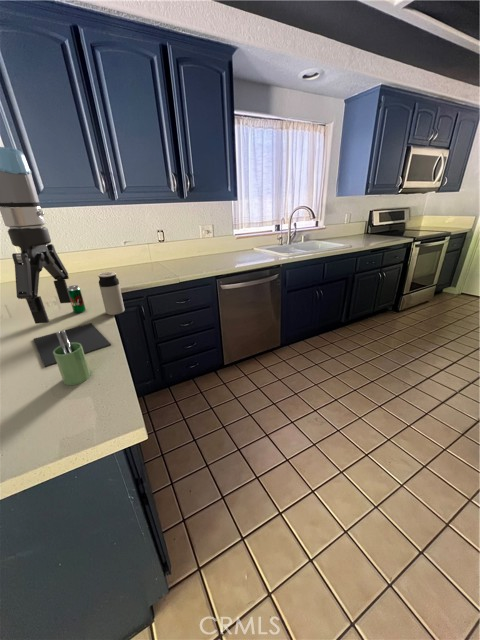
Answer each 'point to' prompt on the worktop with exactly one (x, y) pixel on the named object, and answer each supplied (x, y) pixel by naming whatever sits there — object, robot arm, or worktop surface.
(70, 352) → the tongs
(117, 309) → the travel mug
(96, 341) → the mat
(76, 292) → the soda can
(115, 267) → the worktop surface
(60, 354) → the green cup
